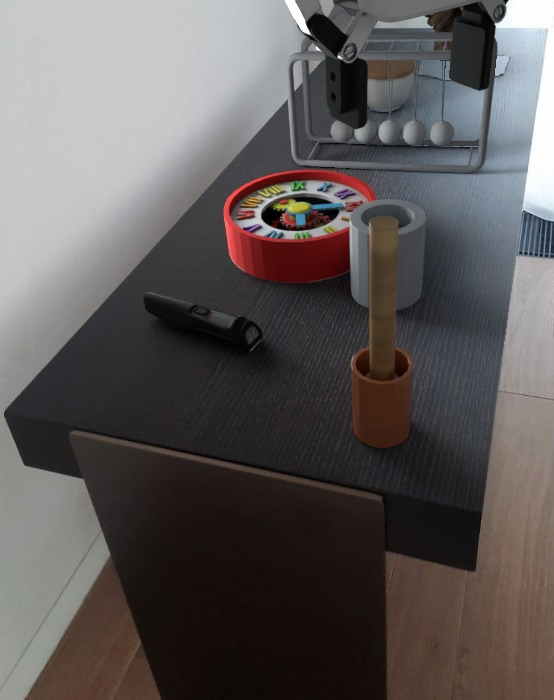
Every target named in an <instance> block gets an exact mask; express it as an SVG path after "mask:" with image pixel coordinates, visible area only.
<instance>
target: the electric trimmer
mask: <svg viewBox="0 0 554 700" xmlns="http://www.w3.org/2000/svg"><path fill="white" fill-rule="evenodd" d="M142 298H143V299H142V300H143V305H144V309H145V311H146V312H147V313H148V314H150V315H152V316H154V317H156V318H158V319H160V320H162V321H164V322H166V323H168V324H170V325H173V326H174V327H176V328H178V329H181V330H182V331H188V330H194V329H195V330H197V331H200V332H203V333H205V334H209V335H212V336H214V337H216V338H220V339H222V340H226V341H229V342H231V343H234V345H235V346H236V347H237V348H238V350H240V351H241V352H245V351H249V352H252V351H253V350H254V349H255V348H256V347H257V346H258V345H259V344H260V343H261V342H262V341H263V339H262V338H263V336H264V335H263V331H262V329H261V327H260V326H259V325H258V324H257V323H256V322H254V321H253V320H250V319H249V318H248V317H246V316H244V315H237V314H234V313H230V312H227V311H223V310H220V309H215V308H211V307H209V306H204V305H201V304H195V303H191V302H187V301H184V300H179V299H177V298H172V297H170V296H165V295H163V294H158V293H155V292H151V291H148V292H147V291H146V292H144V294H143V296H142Z"/></svg>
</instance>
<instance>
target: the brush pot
mask: <svg viewBox="0 0 554 700" xmlns="http://www.w3.org/2000/svg"><path fill="white" fill-rule="evenodd" d="M414 369H415V363H414V360H413V357H412V356H411V354H409V353H408V352H407V351H406V350H405V349H402V348H400V347H398V346H396V345H395V373H396V374H397V375H398V377H399V378H396V379H394V380H389V381H377V380H371V379H369V378H367V377H365V376H366V375H367V374H368V373H369V372H370V345H369V346H366V347H363V348H360V350H358V351H357V352H355V354H354V355H353V357H352V359H351V361H350V379H351V381H350V383H351V406H352V431H353V433H354V435H355V437H356V436H357V437H356V438H357V439H358V440H359V441H360V442H361V443H362V444H364V443H365V444H364V445H366V444H367V445H366V446H368V445H369V447H371V446H372V447H371V448H377V449H389V448H392V447H396V446H398V445H400V444H402V443H403V442H405V440H407V438H408V436H409V435H410V434H411V433H410V432H411V420H412V406H413V389H414V388H413V387H414V373H415V372H414V371H415V370H414Z"/></svg>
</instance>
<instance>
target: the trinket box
mask: <svg viewBox="0 0 554 700" xmlns="http://www.w3.org/2000/svg"><path fill="white" fill-rule="evenodd" d="M366 63H367V60H366ZM391 83H392V60H390V106H391ZM414 83H415V60H394V61H393V84H392V106H391V109H392V108H396V107H399V106H401V107H402V106H403V105H404V104H405V103H406V102H407V101H408V99H409V98H410V96H411V94H412V92H413V91H412V90H413V87H414ZM402 104H403V105H402ZM368 107H370V108H374V109H380V110H381V109H382V110H384V109H389V67H388V60H368V91H367V108H368Z"/></svg>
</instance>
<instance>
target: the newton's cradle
mask: <svg viewBox="0 0 554 700" xmlns="http://www.w3.org/2000/svg"><path fill="white" fill-rule="evenodd" d="M344 34H345V33H344ZM448 41H452V32H435V31H434V32H433V31H432V32H431V31H430V32H428V31H427V32H425V31H424V32H421V31H420V32H371V34H370V36H369V37H368V39H367V41H366V43H365V45H364V47H363V48H362V50H361V52H360V53H359V55H358V58H360V59H363V60H367V66H368V60H388V67H389V112H388V119H386V120H384V121H383V122H381V123H380V125H379V126H378V125H377V124H376V122H374V121H373V120H372V119H369V118H367V123H366V124H365V126H364V127H363V128H359V129H354V128H352V127H350V126H348V125H346V124H344V123H342V122H340V121H338V120H336V119H335V121H334V122H333V123H332V125H331V126H330V127H331V128H330V135H331V136H319V135H316V134H315V133H314V132H313V120H312V119H313V117H312V103H311V102H312V99H311V82H310V80H311V79H310V65H309V64H310V63H309V61H325V54H323V53H321V52H319V51H318V50H309V48H310V46H311V45H312V44H313V43H312V42H311V41H310V40H309V39H308V38H307V37H306V36H305V38H304V39H303V40H302V42H301V45H300V51H299V52H295V53H292V54H291V55H290V56H289V57H288V58H287V60H286V63H285V82H286V92H287V93H286V94H287V95H286V96H287V107H288V121H289V135H290V147H291V148H290V149H291V157H292V159H293V160H294V162H295V163H296V164H297V165H299V166H301V165H308V166H309V165H310V166H321V167H335V168H334V169H346V168H349V169H350V170H371V169H372V171H373V170H375V171H376V170H378V171H397V170H398V171H400V172H401V171H402V172H425V173H448V172H449V173H450V174H453V173H454V174H474V173H475V172H478V171H479V170H481V169H482V168H483V167H484V165H485V162H486V156H487V147H488V137H489V132H490V125H491V116H492V115H491V113H492V103H493V94H494V88H495V87H494V86H495V68H496V59H497V55H498V50H499V49H498V48H499V47H498V41H497V39H496V38H495V39H494V47H493V56H492V65H491V73H490V82H489V87H488V88H487V89H484V90H483V91H484V92H483V103H482V111H481V120H480V121H481V123H480V132H479V138H477V139H476V140H453V139H454V136H455V129H454V127H453V125H452V124H451V122H449V121H448V120H447V121H446V120H444V106H445V87H446V80H445V68H446V60H450V57H451V50H446V47H447V42H448ZM416 42H417V43H418V44H417V46H416V49H415V50H410V49H409V50H408V49H407V50H395V43H416ZM427 42H429V43H430V42H433V43H434V42H445V44H446V45H444V48H445V50H444V49H443V50H434V49H433V50H432V49H431V50H430V49H429V50H428V49H427V50H425V49H423V50H421V43H427ZM370 43H391V45H390V47H389V50H370ZM366 47H367V50H365V49H366ZM391 49H392V50H391ZM390 60H392V83H391V106H392V84H393V61H394V60H413V61H414V62H415V71H414V95H413V96H414V97H413V100H414V101H413V108H414V109H413V120H409V121H408V122H406V123H405V124H404V126H403V128H402V126H401V124H400V123H399V122H398V121H397V120H394V119H392V112H391V106H390ZM422 60H442V80H441V119H440V120H438V121H436V122H435V123H433V124H432V125H431V127H430V129H429V139H426V137H427V127H426V125H425V124H424V123H423V122H422V121H421V120H418V119H416V118H417V106H418V105H417V104H418V103H417V102H418V86H419V76H418V71H419V64H420V61H422ZM443 60H445V66H444V80H443ZM298 61H301V76H302V91H303V92H302V95H303V108H304V109H303V110H304V125H305V127H304V128H305V133H306V134H305V135H306V136H307V138H308V139H309V140H310V141H311V140H313V141H318V142H317V143H315V145H314V147H313V149H312V151H311V152H310V154H309V155H308V158H307V159H306V158H303V157H302V156H301V154H300V150H299V136H298V123H297V120H298V119H297V107H296V105H297V104H296V93H295V92H296V91H295V77H294V76H295V75H294V66H295V64H296V62H298ZM417 67H418V71H417V75H416V69H417ZM367 91H368V76H367ZM353 136H354V137H353ZM377 136H378V137H377ZM401 137H402V138H401ZM313 141H312V142H313ZM320 141H326V142H329V141H335V142H339V143H345V142H346V143H364V144H378V145H377V146H383V145H390V144H391V145H392V144H393V145H394V144H395V145H422V146H424V145H428V146H451V147H452V146H460V147H461V146H462V147H463V146H471V147H470V148H469V154H468V159H467V160H468V161H467V165H461V164H460V165H458V164H433V163H432V164H431V163H410V162H409V163H405V162H403V163H401V162H380V161H379V162H376V161H375V162H374V161H354V160H353V161H350V160H349V161H348V160H328V159H327V160H324V159H323V160H322V159H312V157H313V155H314V154H315V152H316V150H317V148H318V146H319V145H320V144H319V142H320ZM318 144H319V145H318ZM381 144H382V145H381ZM473 146H479V147H478V149H477V160H476V162H475V163H474V164H471V163H472V157H473V151H474V148H473ZM315 149H316V150H315ZM314 151H315V152H314ZM313 153H314V154H313ZM398 171H397V172H398ZM470 172H471V173H470Z"/></svg>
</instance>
